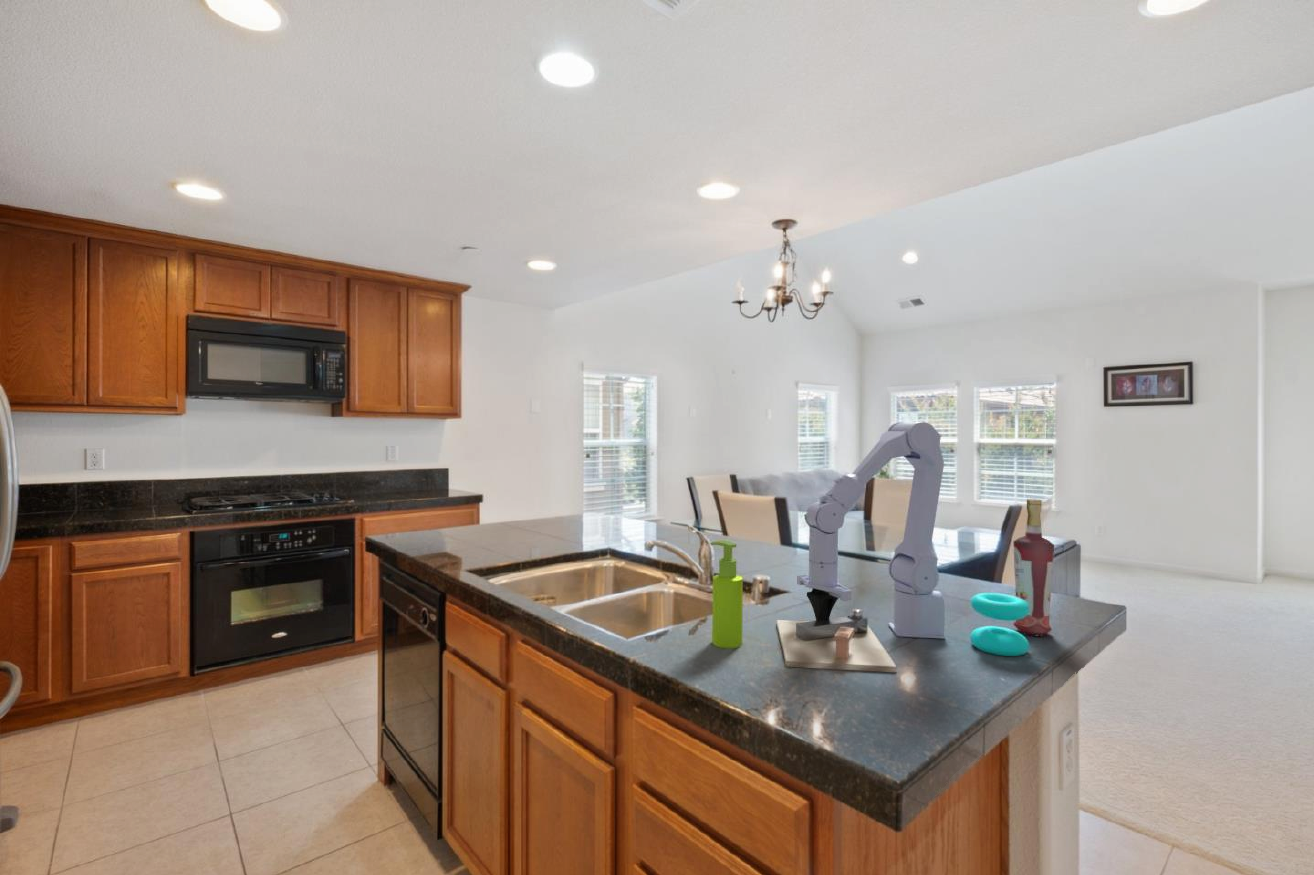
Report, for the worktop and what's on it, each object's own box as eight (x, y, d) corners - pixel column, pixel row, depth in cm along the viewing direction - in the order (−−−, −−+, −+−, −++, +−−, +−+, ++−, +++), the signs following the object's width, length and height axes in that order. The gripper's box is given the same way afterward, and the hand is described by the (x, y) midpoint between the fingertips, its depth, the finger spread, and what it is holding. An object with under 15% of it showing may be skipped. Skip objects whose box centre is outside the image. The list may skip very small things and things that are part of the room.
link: (858, 625, 130) (858, 606, 130) (871, 631, 126) (871, 612, 126) (794, 635, 124) (794, 615, 124) (806, 641, 120) (806, 620, 120)
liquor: (1059, 639, 126) (1061, 502, 125) (1019, 637, 127) (1021, 501, 127) (1044, 628, 133) (1046, 498, 132) (1007, 626, 134) (1008, 497, 134)
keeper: (840, 647, 118) (840, 626, 118) (854, 649, 117) (854, 628, 117) (834, 657, 113) (834, 635, 112) (848, 659, 111) (848, 637, 111)
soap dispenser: (721, 634, 127) (721, 538, 127) (748, 643, 123) (748, 542, 122) (702, 641, 123) (703, 541, 123) (729, 650, 118) (730, 546, 118)
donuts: (1034, 607, 114) (973, 601, 118) (1033, 661, 114) (972, 653, 118) (1025, 594, 123) (969, 589, 127) (1024, 644, 123) (968, 637, 127)
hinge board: (867, 628, 132) (867, 623, 132) (896, 672, 108) (896, 666, 108) (776, 624, 134) (776, 619, 134) (786, 666, 111) (786, 660, 111)
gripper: (785, 555, 132) (785, 619, 132) (831, 570, 118) (830, 640, 119) (812, 553, 135) (811, 615, 135) (860, 567, 121) (859, 635, 122)
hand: (822, 627), depth 127 cm, fingers closed
